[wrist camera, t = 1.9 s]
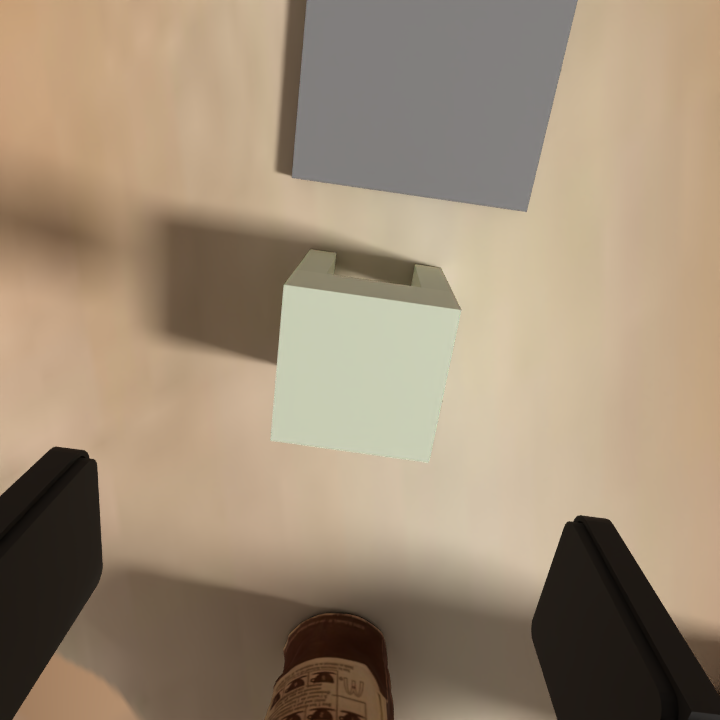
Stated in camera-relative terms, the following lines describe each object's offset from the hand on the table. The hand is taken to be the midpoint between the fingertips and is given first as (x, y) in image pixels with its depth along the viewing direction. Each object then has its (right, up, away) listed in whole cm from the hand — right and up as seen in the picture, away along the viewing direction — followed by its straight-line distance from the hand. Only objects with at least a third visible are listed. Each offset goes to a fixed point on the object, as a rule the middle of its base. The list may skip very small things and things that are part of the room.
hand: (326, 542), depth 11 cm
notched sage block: (+1, +5, +15) cm, 16 cm away
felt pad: (+3, +15, +11) cm, 19 cm away
